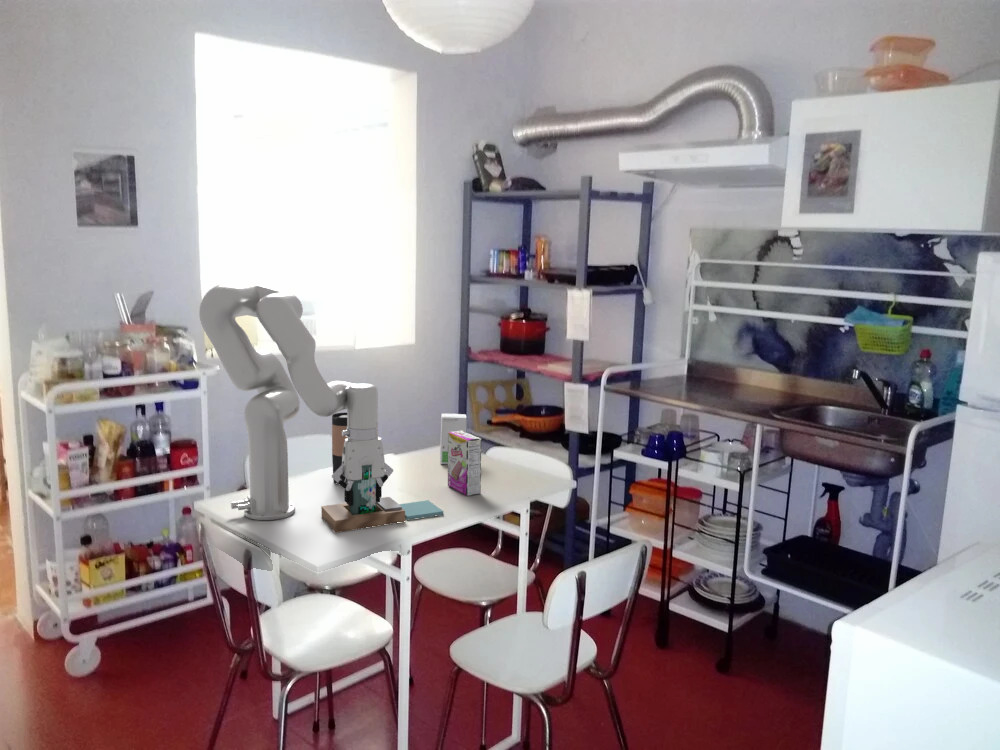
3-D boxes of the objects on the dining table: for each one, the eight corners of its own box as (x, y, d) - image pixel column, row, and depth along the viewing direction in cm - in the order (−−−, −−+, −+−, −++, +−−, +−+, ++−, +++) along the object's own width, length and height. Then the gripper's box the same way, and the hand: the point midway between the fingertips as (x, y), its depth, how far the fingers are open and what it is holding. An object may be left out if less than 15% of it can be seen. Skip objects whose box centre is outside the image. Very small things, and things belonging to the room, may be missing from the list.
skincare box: (440, 464, 252) (440, 417, 250) (439, 459, 258) (440, 413, 256) (466, 464, 253) (466, 417, 250) (465, 459, 259) (466, 413, 257)
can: (366, 525, 195) (366, 467, 193) (346, 521, 198) (345, 463, 195) (379, 518, 201) (379, 461, 198) (360, 514, 203) (360, 458, 201)
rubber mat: (407, 520, 200) (407, 516, 199) (393, 508, 208) (393, 505, 208) (443, 514, 204) (443, 511, 204) (428, 503, 213) (428, 500, 213)
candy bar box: (446, 486, 229) (447, 431, 226) (461, 484, 232) (462, 429, 229) (466, 497, 220) (467, 439, 217) (481, 494, 222) (482, 437, 220)
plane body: (335, 532, 190) (335, 518, 189) (321, 517, 200) (321, 503, 200) (405, 522, 198) (405, 508, 198) (388, 508, 209) (388, 495, 208)
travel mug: (361, 478, 235) (360, 412, 232) (356, 485, 228) (355, 418, 225) (335, 477, 235) (335, 412, 232) (329, 484, 228) (328, 417, 225)
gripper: (332, 440, 188) (333, 511, 191) (400, 433, 197) (400, 502, 199) (324, 433, 195) (325, 502, 198) (390, 427, 203) (390, 494, 206)
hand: (363, 502), depth 199 cm, fingers closed on can, 6 cm apart
